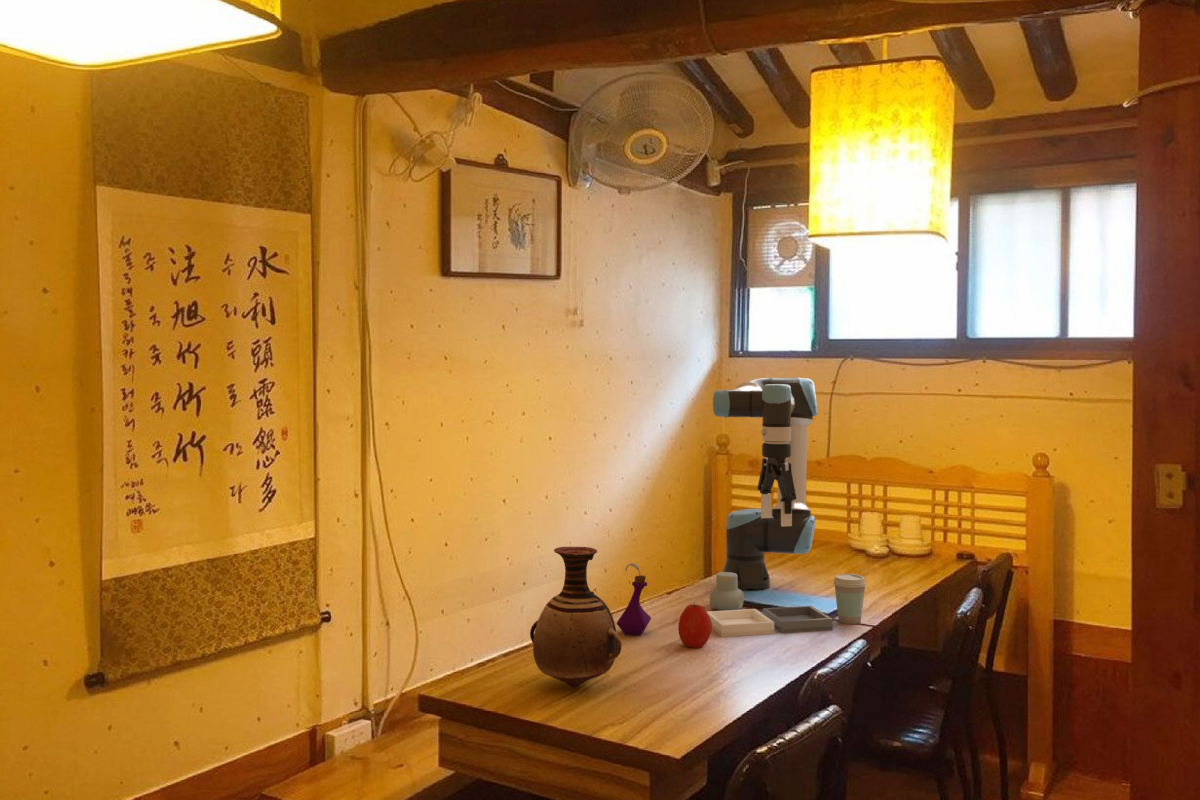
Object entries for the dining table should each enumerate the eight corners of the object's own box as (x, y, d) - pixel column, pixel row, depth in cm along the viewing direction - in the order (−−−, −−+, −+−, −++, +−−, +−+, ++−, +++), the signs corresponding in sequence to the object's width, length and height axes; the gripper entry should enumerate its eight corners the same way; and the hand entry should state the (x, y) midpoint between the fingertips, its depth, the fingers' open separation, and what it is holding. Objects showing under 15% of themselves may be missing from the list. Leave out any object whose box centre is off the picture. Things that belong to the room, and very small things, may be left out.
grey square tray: (762, 619, 277) (762, 608, 277) (810, 616, 280) (811, 605, 280) (781, 633, 264) (781, 621, 263) (832, 629, 266) (832, 618, 266)
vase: (511, 684, 224) (510, 548, 222) (572, 666, 236) (572, 537, 235) (579, 708, 209) (578, 562, 207) (640, 687, 221) (640, 549, 220)
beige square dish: (705, 622, 274) (705, 611, 274) (755, 619, 277) (755, 608, 277) (722, 636, 260) (722, 625, 260) (774, 633, 263) (774, 622, 263)
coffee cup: (866, 626, 270) (867, 581, 269) (833, 624, 271) (833, 579, 271) (865, 617, 278) (865, 574, 278) (832, 616, 280) (833, 572, 279)
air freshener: (737, 615, 281) (737, 579, 281) (708, 613, 284) (708, 577, 284) (745, 606, 292) (745, 571, 291) (716, 603, 294) (716, 569, 294)
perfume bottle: (651, 630, 267) (651, 561, 266) (645, 638, 259) (644, 567, 259) (623, 628, 269) (623, 560, 268) (616, 635, 261) (616, 565, 261)
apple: (716, 643, 254) (717, 601, 254) (702, 652, 247) (702, 608, 247) (686, 639, 258) (686, 597, 258) (672, 647, 251) (672, 604, 251)
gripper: (745, 438, 284) (745, 515, 285) (782, 446, 259) (781, 530, 260) (771, 438, 285) (770, 514, 286) (809, 446, 261) (809, 529, 262)
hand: (776, 522), depth 273 cm, fingers open, 13 cm apart
